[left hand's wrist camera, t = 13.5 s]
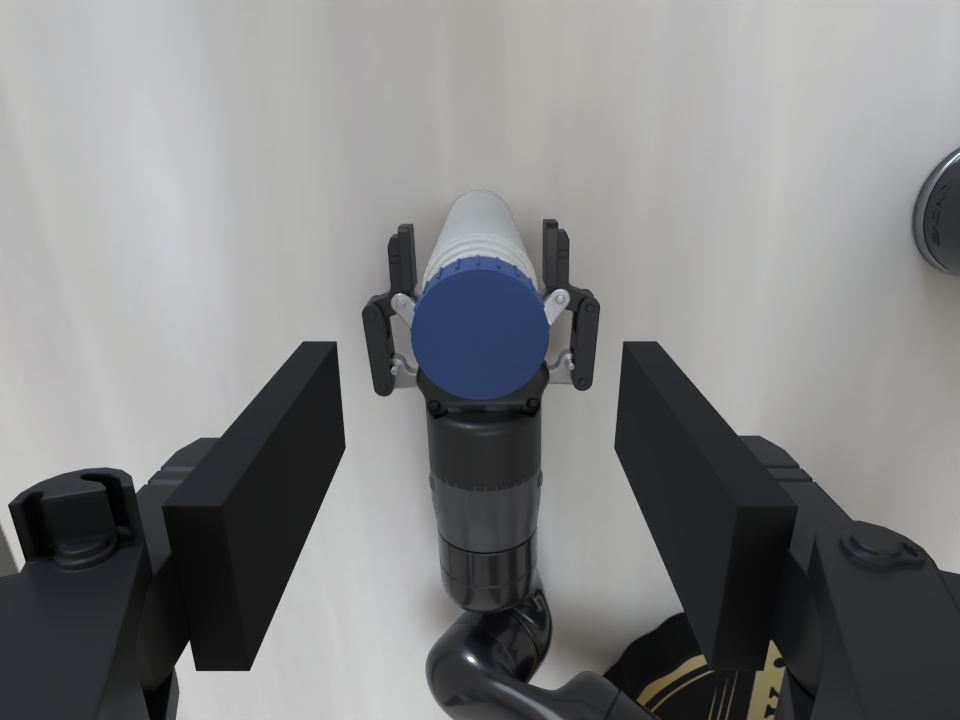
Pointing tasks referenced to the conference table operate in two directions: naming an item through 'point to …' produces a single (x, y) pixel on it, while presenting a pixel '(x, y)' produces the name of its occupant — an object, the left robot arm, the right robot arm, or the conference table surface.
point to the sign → (694, 679)
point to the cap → (479, 328)
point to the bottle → (480, 235)
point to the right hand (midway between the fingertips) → (478, 222)
